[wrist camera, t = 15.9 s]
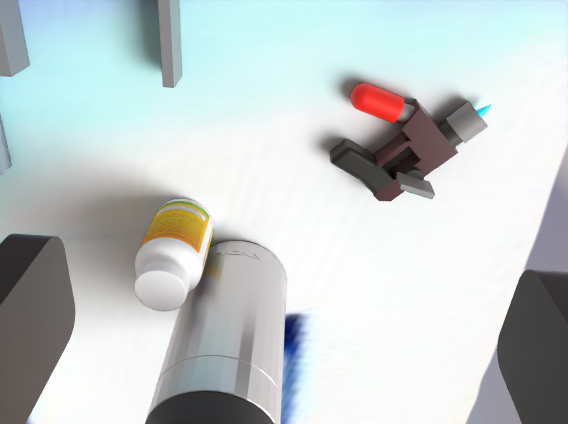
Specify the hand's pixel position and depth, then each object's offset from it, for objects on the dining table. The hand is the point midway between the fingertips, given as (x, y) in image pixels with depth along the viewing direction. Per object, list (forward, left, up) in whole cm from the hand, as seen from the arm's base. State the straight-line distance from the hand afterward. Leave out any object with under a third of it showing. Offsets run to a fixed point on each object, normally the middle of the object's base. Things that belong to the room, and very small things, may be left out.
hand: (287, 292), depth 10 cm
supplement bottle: (-20, +9, -33) cm, 40 cm away
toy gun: (-9, -9, -34) cm, 36 cm away
